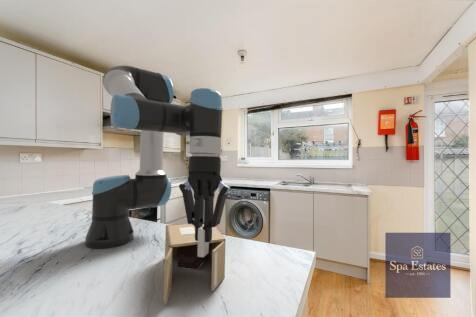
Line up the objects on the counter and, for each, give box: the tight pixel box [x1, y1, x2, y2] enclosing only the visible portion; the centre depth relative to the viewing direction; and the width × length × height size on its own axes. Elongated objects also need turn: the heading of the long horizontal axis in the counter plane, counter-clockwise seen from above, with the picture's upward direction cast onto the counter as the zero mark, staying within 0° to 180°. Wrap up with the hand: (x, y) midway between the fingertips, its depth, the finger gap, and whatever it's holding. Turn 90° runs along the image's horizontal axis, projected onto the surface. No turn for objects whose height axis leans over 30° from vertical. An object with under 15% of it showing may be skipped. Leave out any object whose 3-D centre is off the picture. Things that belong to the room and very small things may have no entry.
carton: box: [164, 223, 226, 279], centre depth 61 cm, size 16×14×10 cm
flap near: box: [163, 248, 173, 305], centre depth 48 cm, size 1×6×9 cm, turn 7°
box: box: [176, 244, 205, 271], centre depth 63 cm, size 6×6×7 cm
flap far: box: [210, 242, 224, 292], centre depth 52 cm, size 1×6×9 cm, turn 162°
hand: (203, 254), depth 52 cm, fingers closed
